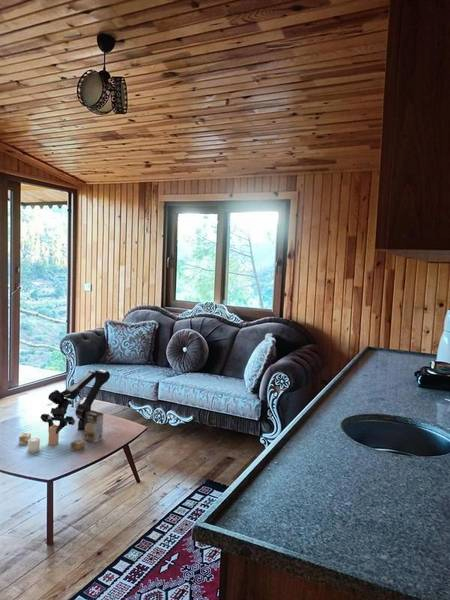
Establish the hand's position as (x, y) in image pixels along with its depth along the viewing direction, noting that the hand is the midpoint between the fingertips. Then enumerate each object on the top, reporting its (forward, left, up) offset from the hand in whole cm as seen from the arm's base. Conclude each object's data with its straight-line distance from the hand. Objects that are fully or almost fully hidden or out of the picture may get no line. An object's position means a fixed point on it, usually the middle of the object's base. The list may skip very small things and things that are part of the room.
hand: (52, 433), depth 254 cm
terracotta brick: (0, -1, -7) cm, 7 cm away
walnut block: (-16, +3, -7) cm, 18 cm away
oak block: (+16, +1, -7) cm, 17 cm away
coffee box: (-19, -12, -7) cm, 24 cm away
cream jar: (+6, +10, -7) cm, 13 cm away
